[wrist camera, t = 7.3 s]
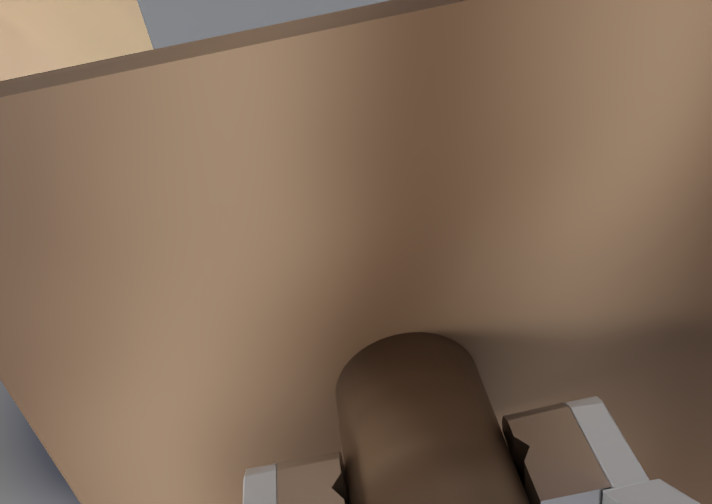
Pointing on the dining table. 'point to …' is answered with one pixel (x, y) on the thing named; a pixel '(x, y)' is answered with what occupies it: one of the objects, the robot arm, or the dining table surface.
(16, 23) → the dining table surface
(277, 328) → the lid
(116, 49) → the dining table surface
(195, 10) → the mat
